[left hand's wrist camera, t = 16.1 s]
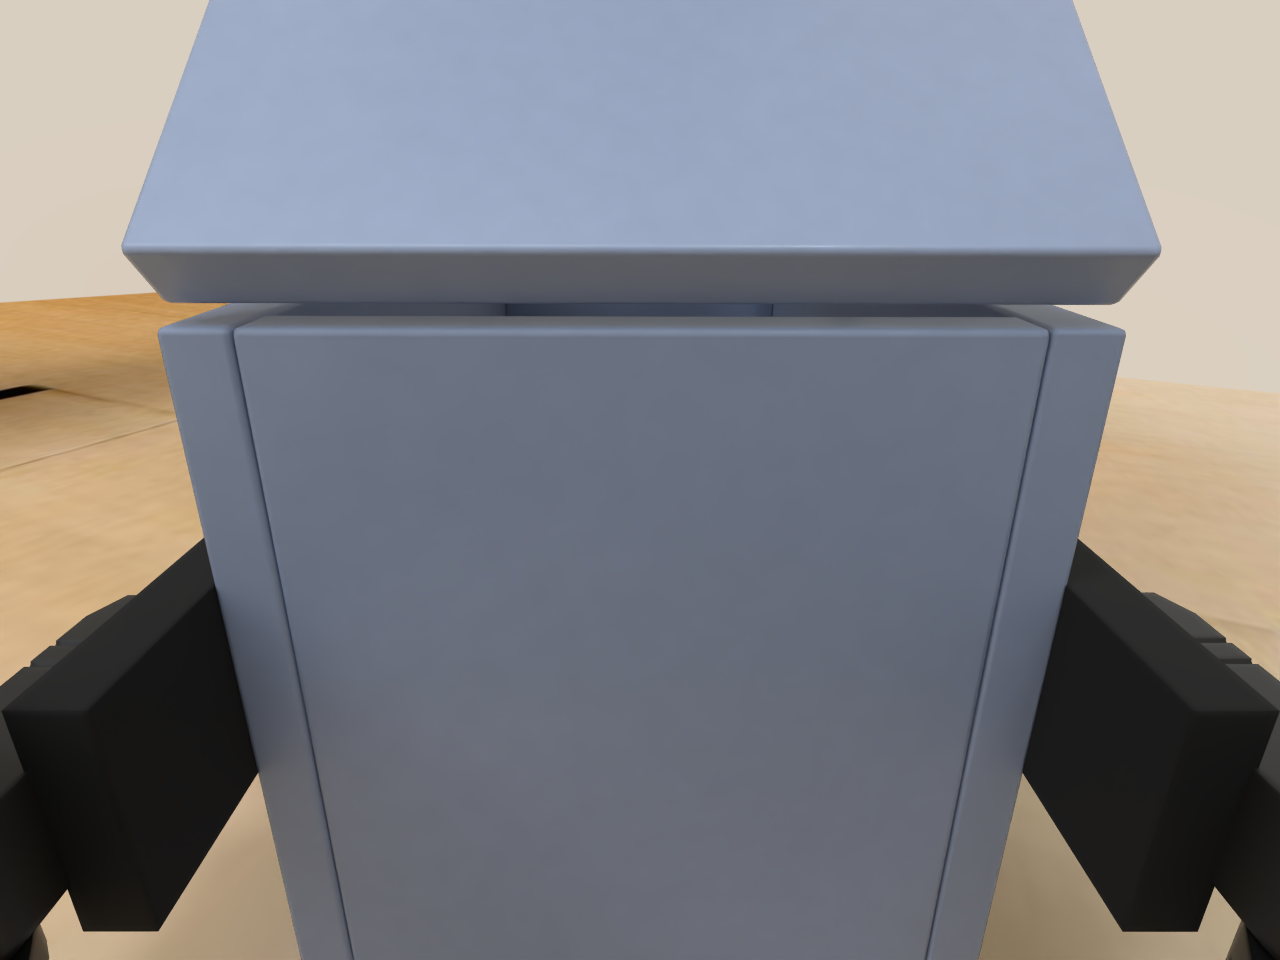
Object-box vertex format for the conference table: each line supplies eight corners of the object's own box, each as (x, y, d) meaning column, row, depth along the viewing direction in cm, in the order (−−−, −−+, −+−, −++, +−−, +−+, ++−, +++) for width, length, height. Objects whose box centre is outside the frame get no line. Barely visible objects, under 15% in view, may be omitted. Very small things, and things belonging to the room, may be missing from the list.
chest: (503, 546, 28) (479, 217, 24) (774, 546, 28) (799, 217, 24) (322, 1058, 12) (152, 327, 8) (957, 1058, 12) (1130, 329, 8)
